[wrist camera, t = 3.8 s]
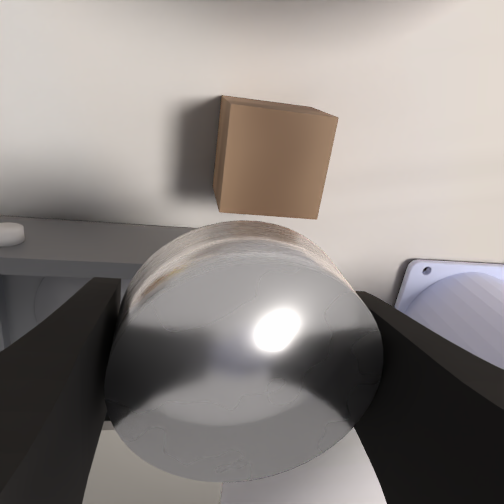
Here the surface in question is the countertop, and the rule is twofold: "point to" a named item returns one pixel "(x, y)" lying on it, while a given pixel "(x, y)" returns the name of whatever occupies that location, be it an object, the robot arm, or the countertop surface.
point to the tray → (65, 263)
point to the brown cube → (271, 158)
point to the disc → (239, 354)
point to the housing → (139, 478)
